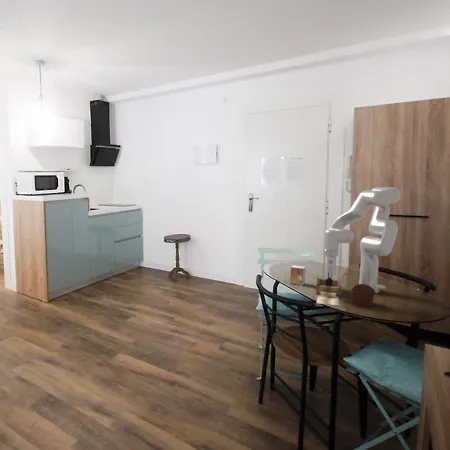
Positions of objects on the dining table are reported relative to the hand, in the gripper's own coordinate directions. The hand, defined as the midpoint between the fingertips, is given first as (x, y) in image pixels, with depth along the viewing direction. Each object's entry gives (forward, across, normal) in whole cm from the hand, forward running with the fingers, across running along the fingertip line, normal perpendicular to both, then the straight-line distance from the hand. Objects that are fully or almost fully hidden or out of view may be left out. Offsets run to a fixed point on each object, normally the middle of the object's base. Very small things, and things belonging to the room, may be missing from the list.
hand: (329, 285), depth 188 cm
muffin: (+6, -5, -17) cm, 19 cm away
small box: (+6, +20, +18) cm, 28 cm away
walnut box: (+6, +10, 0) cm, 12 cm away
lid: (+7, -5, 0) cm, 9 cm away
